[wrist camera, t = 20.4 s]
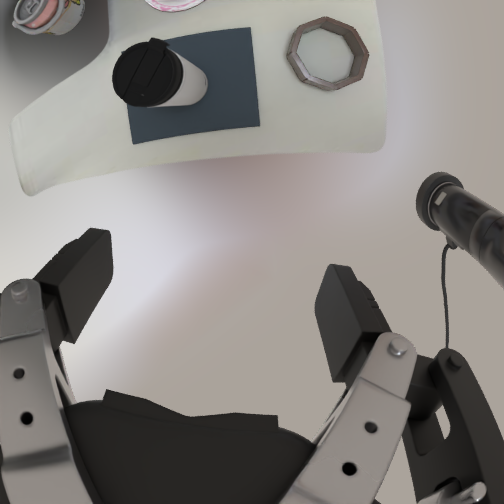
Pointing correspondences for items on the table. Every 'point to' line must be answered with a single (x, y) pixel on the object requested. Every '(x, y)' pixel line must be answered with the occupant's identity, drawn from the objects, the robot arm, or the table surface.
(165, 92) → the travel mug
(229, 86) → the slate mat
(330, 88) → the mug caddy
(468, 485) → the robot arm
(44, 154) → the table surface
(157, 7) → the teacup
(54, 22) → the beverage can
